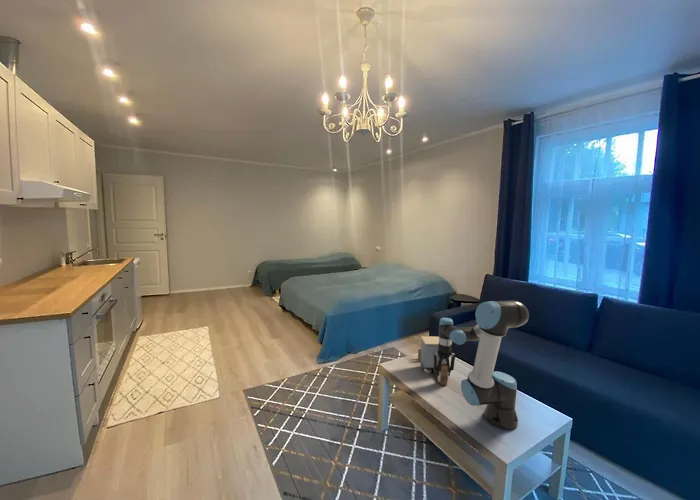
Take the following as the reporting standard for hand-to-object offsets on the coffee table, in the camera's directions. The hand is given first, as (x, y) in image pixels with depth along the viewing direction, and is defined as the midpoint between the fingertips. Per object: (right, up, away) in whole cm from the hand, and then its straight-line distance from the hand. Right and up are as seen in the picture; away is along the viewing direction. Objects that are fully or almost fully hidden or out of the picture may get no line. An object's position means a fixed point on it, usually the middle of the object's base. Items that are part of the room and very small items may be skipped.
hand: (442, 380), depth 179 cm
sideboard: (-2, 0, +16) cm, 16 cm away
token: (-5, -1, +15) cm, 16 cm away
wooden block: (0, -1, +7) cm, 7 cm away
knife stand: (+2, +1, +30) cm, 31 cm away
